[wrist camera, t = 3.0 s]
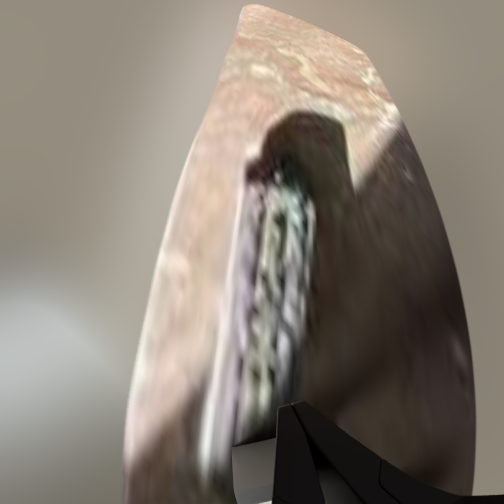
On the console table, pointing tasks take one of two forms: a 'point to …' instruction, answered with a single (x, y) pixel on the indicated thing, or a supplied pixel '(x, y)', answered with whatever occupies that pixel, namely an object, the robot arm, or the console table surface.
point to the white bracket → (254, 472)
